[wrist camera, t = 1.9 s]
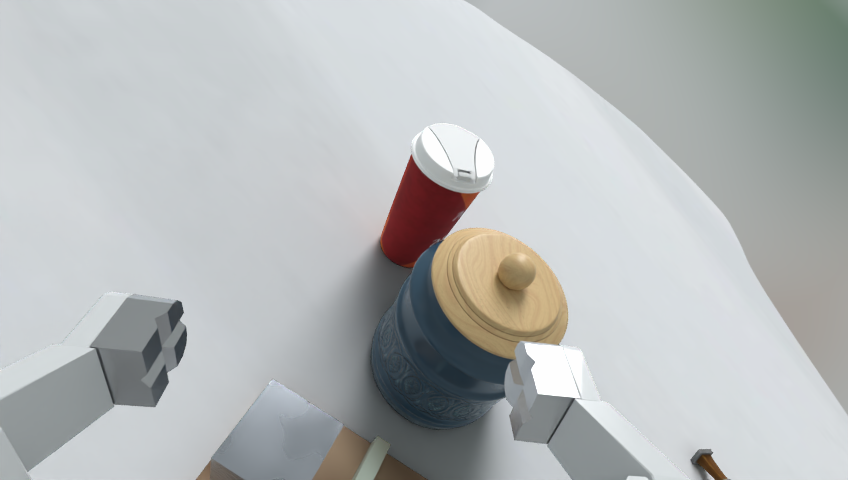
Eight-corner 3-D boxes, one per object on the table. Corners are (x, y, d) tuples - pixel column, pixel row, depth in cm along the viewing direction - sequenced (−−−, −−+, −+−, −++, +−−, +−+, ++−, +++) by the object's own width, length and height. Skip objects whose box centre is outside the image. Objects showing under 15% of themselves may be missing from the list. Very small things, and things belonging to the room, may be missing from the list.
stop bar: (264, 544, 30) (293, 511, 21) (207, 507, 30) (211, 458, 21) (303, 479, 33) (344, 424, 24) (251, 445, 33) (272, 378, 24)
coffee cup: (443, 279, 51) (509, 188, 40) (372, 273, 48) (422, 173, 37) (432, 222, 56) (488, 127, 45) (367, 212, 53) (411, 109, 42)
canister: (484, 453, 40) (615, 379, 28) (348, 404, 39) (421, 300, 26) (497, 331, 49) (601, 232, 37) (387, 286, 48) (456, 166, 35)
